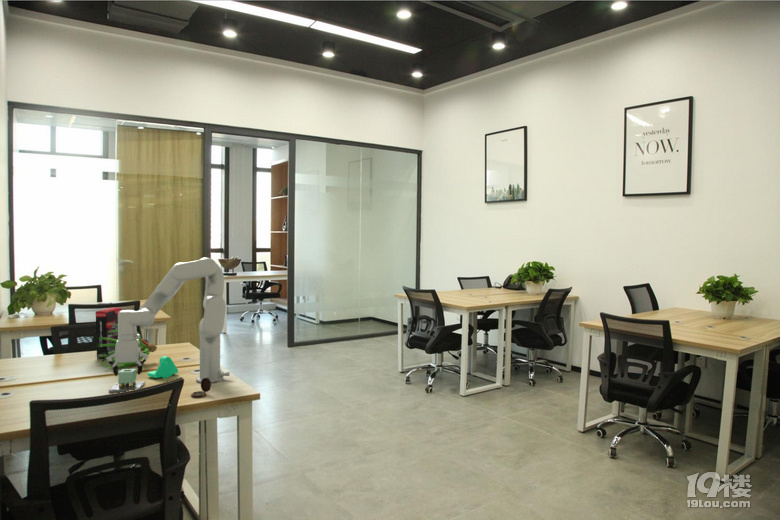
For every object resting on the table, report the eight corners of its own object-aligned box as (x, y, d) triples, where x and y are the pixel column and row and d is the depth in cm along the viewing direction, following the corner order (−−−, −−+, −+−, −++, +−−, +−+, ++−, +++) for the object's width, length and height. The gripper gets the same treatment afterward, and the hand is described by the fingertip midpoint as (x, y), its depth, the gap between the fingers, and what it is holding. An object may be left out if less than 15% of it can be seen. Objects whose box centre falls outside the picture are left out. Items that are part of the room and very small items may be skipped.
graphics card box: (107, 359, 286) (107, 311, 285) (95, 359, 286) (94, 311, 285) (123, 352, 303) (123, 307, 302) (112, 352, 303) (112, 307, 302)
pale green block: (136, 379, 235) (136, 368, 235) (132, 382, 229) (132, 371, 229) (122, 379, 234) (122, 369, 233) (118, 383, 228) (118, 372, 228)
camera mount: (168, 372, 260) (168, 352, 260) (178, 374, 256) (178, 354, 256) (146, 377, 250) (146, 357, 250) (156, 380, 246) (156, 359, 246)
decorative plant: (163, 372, 279) (108, 383, 254) (138, 357, 292) (83, 365, 267) (170, 327, 276) (116, 333, 251) (145, 314, 289) (90, 318, 264)
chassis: (144, 383, 239) (144, 369, 238) (138, 391, 227) (138, 375, 227) (116, 385, 236) (116, 370, 236) (108, 392, 224) (108, 377, 224)
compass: (187, 396, 221) (187, 380, 221) (203, 392, 228) (203, 376, 228) (199, 399, 217) (199, 383, 217) (214, 395, 224) (215, 379, 223)
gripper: (149, 335, 236) (150, 371, 237) (109, 336, 232) (109, 373, 233) (146, 338, 229) (146, 375, 230) (103, 339, 225) (104, 377, 226)
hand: (127, 374), depth 231 cm, fingers open, 9 cm apart
